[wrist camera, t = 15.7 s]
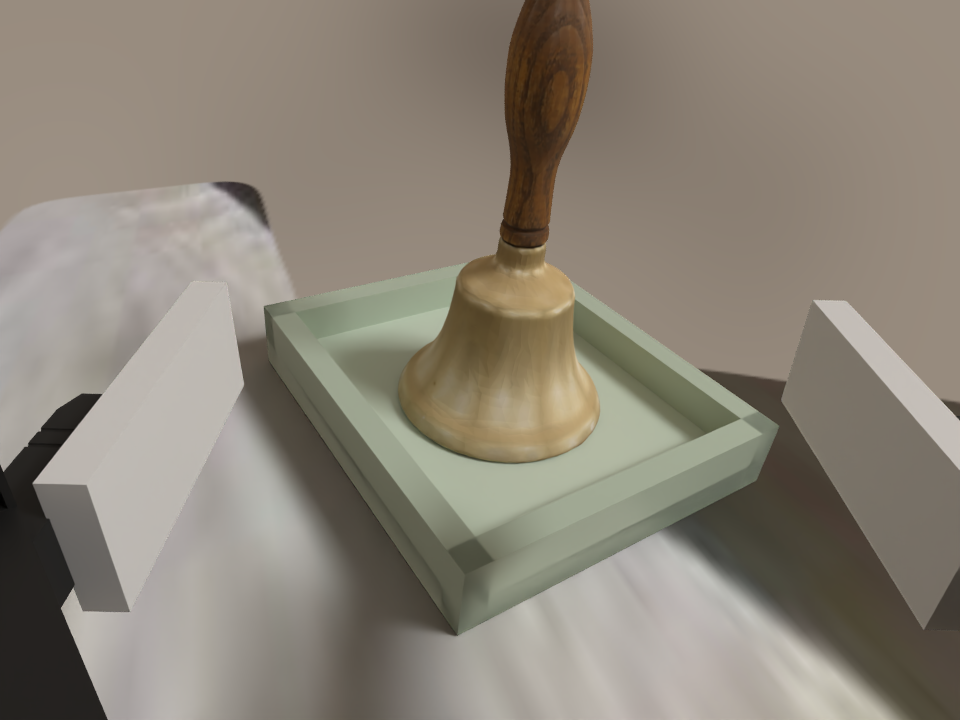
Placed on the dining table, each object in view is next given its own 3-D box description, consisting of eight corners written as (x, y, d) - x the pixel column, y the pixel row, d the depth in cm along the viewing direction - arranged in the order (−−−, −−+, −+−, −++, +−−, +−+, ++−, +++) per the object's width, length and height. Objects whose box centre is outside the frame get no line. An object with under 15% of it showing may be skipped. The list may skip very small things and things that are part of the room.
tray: (268, 360, 32) (263, 306, 30) (520, 296, 39) (526, 250, 37) (457, 635, 21) (465, 574, 20) (756, 480, 28) (779, 426, 27)
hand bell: (635, 394, 30) (749, -31, 21) (525, 499, 25) (618, -20, 16) (480, 320, 34) (522, -66, 25) (354, 396, 28) (350, -69, 19)
